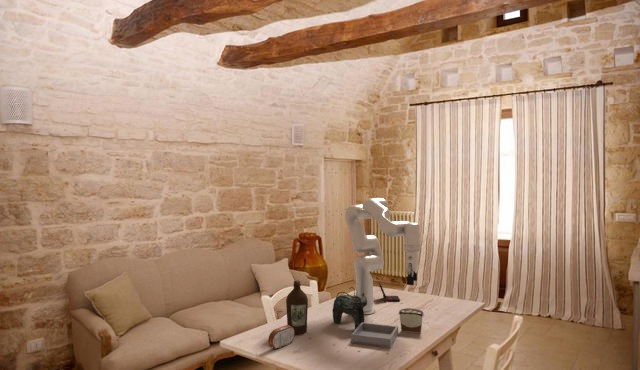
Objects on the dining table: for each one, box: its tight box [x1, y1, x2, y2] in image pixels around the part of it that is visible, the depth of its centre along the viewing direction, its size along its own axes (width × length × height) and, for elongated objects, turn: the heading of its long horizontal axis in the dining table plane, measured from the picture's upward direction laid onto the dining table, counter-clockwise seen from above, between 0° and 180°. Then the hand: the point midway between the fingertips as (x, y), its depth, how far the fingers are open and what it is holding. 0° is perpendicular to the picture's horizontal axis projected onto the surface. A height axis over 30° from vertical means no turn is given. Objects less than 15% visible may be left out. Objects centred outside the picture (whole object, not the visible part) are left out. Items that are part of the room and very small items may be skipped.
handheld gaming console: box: [378, 282, 401, 303], centre depth 279 cm, size 9×12×10 cm
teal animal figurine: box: [332, 286, 367, 329], centre depth 230 cm, size 20×6×20 cm, turn 47°
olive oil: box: [285, 279, 309, 336], centre depth 222 cm, size 11×11×25 cm
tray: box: [350, 322, 399, 349], centre depth 212 cm, size 18×18×4 cm
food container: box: [397, 307, 425, 334], centre depth 224 cm, size 12×6×10 cm, turn 71°
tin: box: [267, 324, 296, 350], centre depth 204 cm, size 15×3×8 cm, turn 141°
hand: (411, 282), depth 224 cm, fingers open, 9 cm apart
